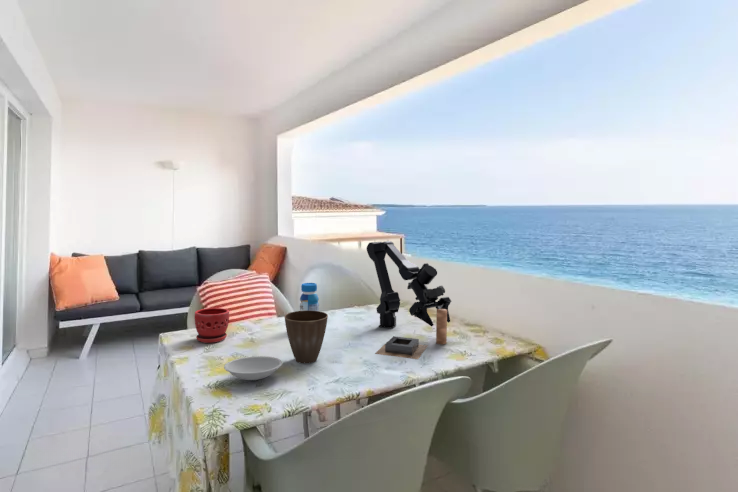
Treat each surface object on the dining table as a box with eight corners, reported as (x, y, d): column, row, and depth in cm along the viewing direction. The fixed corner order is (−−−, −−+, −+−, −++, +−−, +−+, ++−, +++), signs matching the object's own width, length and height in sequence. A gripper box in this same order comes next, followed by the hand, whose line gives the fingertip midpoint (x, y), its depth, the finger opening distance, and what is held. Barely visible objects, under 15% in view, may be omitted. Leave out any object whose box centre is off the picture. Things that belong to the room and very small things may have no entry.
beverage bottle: (317, 331, 185) (317, 285, 183) (298, 331, 185) (297, 285, 183) (320, 325, 193) (320, 282, 191) (301, 325, 193) (301, 282, 191)
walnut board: (374, 356, 154) (374, 353, 154) (388, 343, 169) (388, 340, 169) (417, 362, 148) (417, 359, 148) (428, 347, 163) (428, 345, 163)
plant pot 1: (218, 345, 165) (218, 315, 164) (188, 343, 168) (187, 313, 167) (235, 335, 178) (235, 307, 177) (207, 334, 181) (206, 306, 180)
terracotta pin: (435, 346, 165) (435, 310, 164) (437, 343, 169) (437, 308, 168) (445, 347, 164) (446, 311, 162) (447, 344, 167) (447, 309, 166)
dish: (285, 370, 141) (285, 355, 140) (279, 388, 126) (278, 372, 126) (231, 371, 139) (230, 356, 139) (218, 390, 125) (217, 373, 125)
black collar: (385, 352, 155) (385, 343, 155) (393, 343, 165) (393, 336, 164) (411, 355, 152) (411, 347, 152) (418, 346, 161) (418, 339, 161)
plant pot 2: (329, 352, 158) (329, 310, 156) (326, 367, 143) (326, 320, 141) (288, 353, 157) (288, 310, 156) (281, 368, 142) (281, 321, 141)
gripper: (414, 281, 163) (434, 315, 155) (448, 277, 174) (468, 308, 166) (400, 298, 170) (419, 332, 162) (434, 293, 181) (453, 324, 173)
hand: (441, 323), depth 166 cm, fingers open, 9 cm apart
